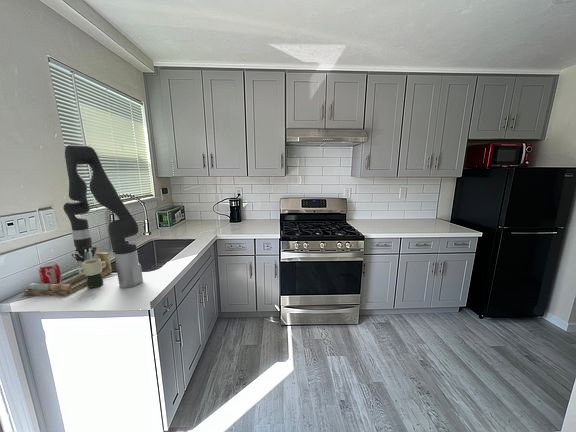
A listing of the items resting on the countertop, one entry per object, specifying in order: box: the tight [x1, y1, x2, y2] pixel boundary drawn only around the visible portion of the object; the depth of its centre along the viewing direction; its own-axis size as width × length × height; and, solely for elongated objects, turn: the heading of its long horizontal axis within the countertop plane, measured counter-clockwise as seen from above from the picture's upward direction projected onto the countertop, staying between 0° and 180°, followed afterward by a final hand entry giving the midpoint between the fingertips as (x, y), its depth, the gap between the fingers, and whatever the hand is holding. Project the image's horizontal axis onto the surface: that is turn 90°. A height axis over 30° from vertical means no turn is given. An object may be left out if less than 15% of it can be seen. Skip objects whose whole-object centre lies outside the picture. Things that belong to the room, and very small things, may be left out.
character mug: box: [78, 258, 106, 288], centre depth 116 cm, size 11×7×13 cm, turn 152°
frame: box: [23, 270, 71, 297], centre depth 119 cm, size 22×23×2 cm
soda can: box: [38, 262, 63, 284], centre depth 115 cm, size 7×7×12 cm
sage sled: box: [28, 252, 94, 291], centre depth 122 cm, size 10×25×11 cm, turn 176°
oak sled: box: [49, 251, 113, 295], centre depth 121 cm, size 10×25×11 cm, turn 176°
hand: (87, 266), depth 134 cm, fingers closed
